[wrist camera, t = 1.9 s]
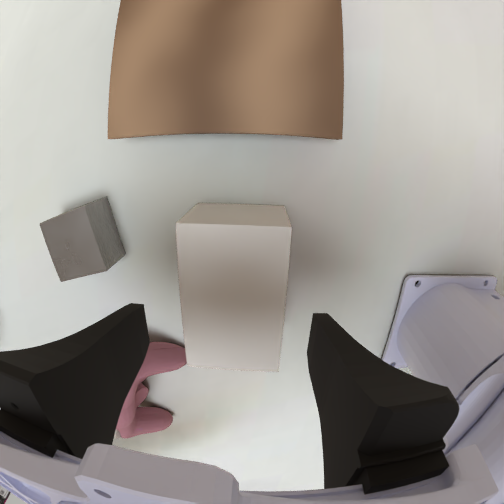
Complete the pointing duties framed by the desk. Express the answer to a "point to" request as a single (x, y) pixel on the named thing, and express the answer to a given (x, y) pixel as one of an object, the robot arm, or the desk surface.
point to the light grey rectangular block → (233, 284)
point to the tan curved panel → (227, 68)
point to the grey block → (83, 240)
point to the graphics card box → (3, 495)
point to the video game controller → (147, 418)
